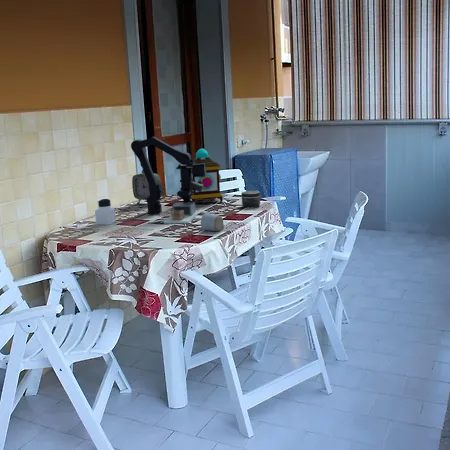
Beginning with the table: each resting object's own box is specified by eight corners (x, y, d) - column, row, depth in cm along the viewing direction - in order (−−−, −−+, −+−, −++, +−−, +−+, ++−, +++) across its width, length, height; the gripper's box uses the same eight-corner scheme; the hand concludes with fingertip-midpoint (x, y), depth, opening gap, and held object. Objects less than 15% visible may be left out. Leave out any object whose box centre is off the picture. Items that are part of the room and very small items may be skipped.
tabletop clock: (133, 205, 344) (130, 161, 338) (143, 202, 351) (140, 159, 346) (153, 206, 336) (150, 161, 331) (163, 203, 343) (160, 159, 338)
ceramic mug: (215, 233, 266) (215, 215, 264) (200, 231, 270) (199, 214, 268) (228, 228, 274) (228, 211, 273) (213, 227, 279) (212, 210, 277)
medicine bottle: (116, 221, 300) (113, 198, 297) (108, 225, 293) (106, 200, 291) (103, 221, 302) (101, 197, 300) (95, 224, 296) (93, 200, 293)
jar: (263, 205, 325) (263, 191, 323) (254, 208, 316) (254, 194, 315) (247, 204, 330) (247, 190, 328) (238, 207, 322) (237, 193, 320)
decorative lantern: (184, 200, 352) (181, 148, 346) (217, 197, 356) (214, 146, 350) (190, 205, 333) (187, 151, 327) (225, 202, 337) (223, 148, 331)
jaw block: (174, 218, 297) (173, 210, 296) (184, 218, 296) (183, 210, 295) (171, 220, 292) (171, 212, 291) (182, 220, 291) (181, 212, 290)
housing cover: (172, 215, 302) (172, 205, 301) (177, 212, 311) (176, 202, 310) (191, 215, 301) (190, 205, 300) (195, 211, 309) (194, 202, 308)
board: (163, 223, 290) (163, 214, 289) (175, 214, 312) (174, 205, 311) (188, 223, 288) (187, 214, 287) (197, 213, 309) (197, 205, 308)
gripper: (197, 179, 300) (199, 210, 303) (205, 174, 318) (206, 203, 321) (175, 180, 302) (177, 210, 305) (184, 175, 320) (186, 204, 323)
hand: (188, 207), depth 314 cm, fingers closed
